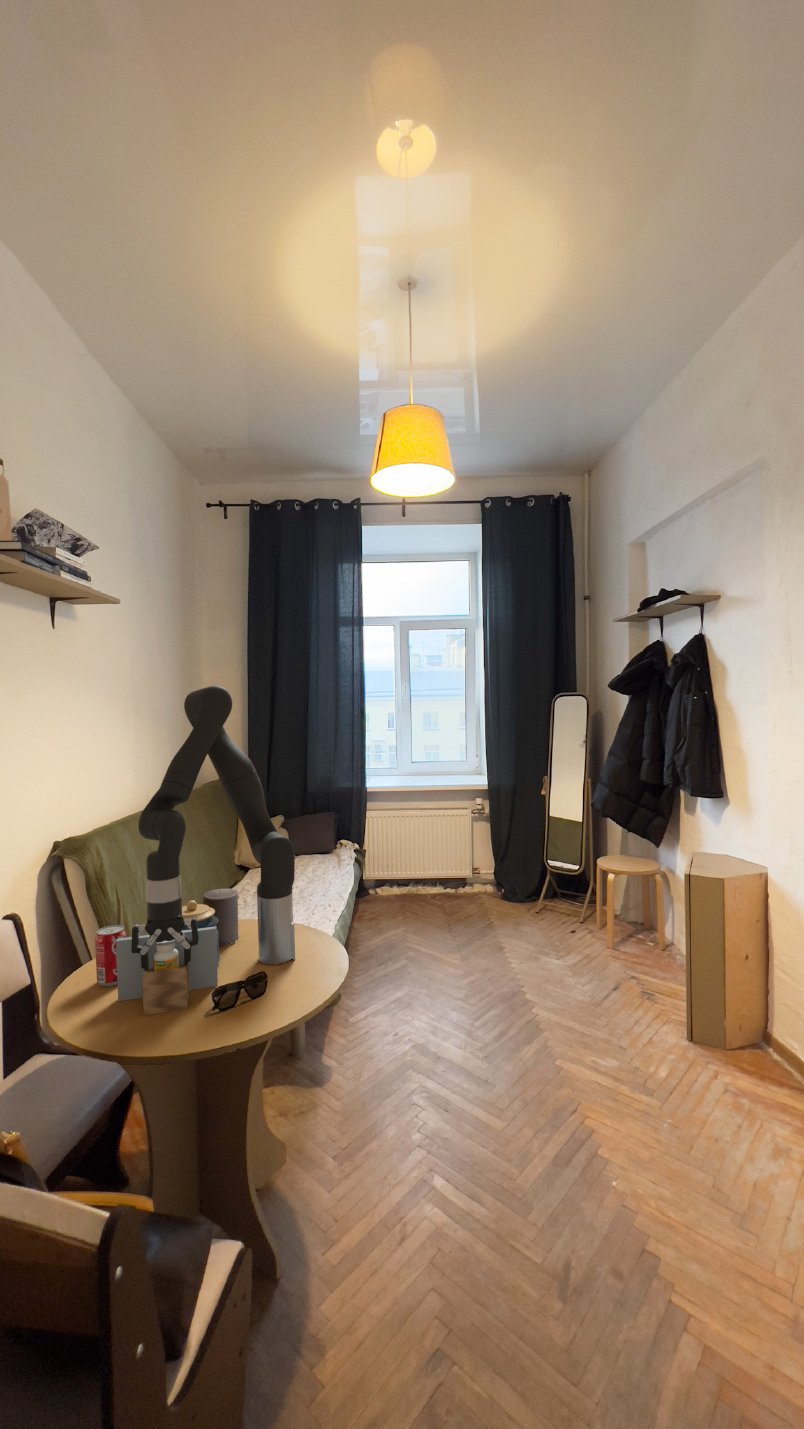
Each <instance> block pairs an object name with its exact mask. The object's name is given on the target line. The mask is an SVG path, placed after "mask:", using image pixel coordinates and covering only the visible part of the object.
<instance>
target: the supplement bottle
mask: <svg viewBox="0 0 804 1429" xmlns="http://www.w3.org/2000/svg"><path fill="white" fill-rule="evenodd" d="M156 950H157V952H156V953H155V955H154V971H160V970H168V969H175V968H179V953H178V950H177V949H175V941H174V940H173V941H163V942H159V943H157V944H156Z"/></svg>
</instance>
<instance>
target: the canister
mask: <svg viewBox="0 0 804 1429" xmlns="http://www.w3.org/2000/svg"><path fill="white" fill-rule="evenodd" d="M214 913H215V910H214V909H213V908H210V907H209V906H207V905H204V904H202V903H197V901H196V900H194V899H192V900H188V901H187V903H186V905H182V916H183V919H184V920H186V919H191V918H192V917H193V916H195V917H196V918H197V926H198V929H200V928H208V927H216V941H217V968H218V967H219V966H220V959H221V958H220V956H221V954H220V947H219V941H218V935H219V931H218V930H217V925H216V924H217V923H218V921H219V919H218V918H217V917H216V916H214ZM184 930H192V929H189V928H188V926H187V925H184V927H183V928H182V930H181V931H184Z"/></svg>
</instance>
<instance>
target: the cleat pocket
mask: <svg viewBox="0 0 804 1429" xmlns="http://www.w3.org/2000/svg"><path fill="white" fill-rule="evenodd" d="M189 995H190V990H189V966H188V965H184V967H182V968H175V969H168V970H160V971H153V972H152V969H148V970H147V972H146V973H143V998H142V999H143V1016H149V1015H156V1014H162V1013H166V1012H167V1013H168V1012H173V1011H181V1010H186V1009H187V1010H188V1006H189V997H190V996H189Z"/></svg>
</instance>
